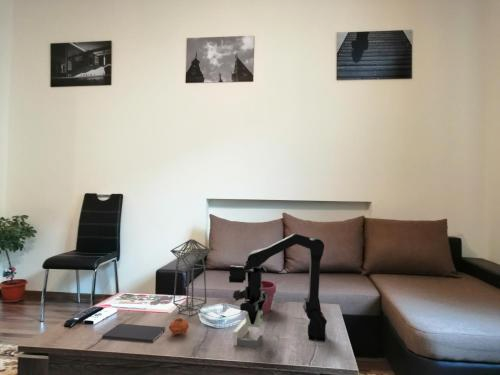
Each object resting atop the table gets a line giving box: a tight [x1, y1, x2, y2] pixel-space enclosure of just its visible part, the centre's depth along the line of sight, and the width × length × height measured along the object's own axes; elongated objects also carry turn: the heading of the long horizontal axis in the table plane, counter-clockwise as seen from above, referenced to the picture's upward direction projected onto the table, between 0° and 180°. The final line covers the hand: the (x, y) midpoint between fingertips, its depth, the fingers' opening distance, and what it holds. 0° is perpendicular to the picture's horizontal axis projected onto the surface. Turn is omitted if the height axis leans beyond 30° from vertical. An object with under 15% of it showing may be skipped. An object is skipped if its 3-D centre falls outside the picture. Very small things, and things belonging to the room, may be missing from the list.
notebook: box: [101, 323, 166, 343], centre depth 139 cm, size 13×2×21 cm
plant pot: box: [246, 280, 277, 314], centre depth 169 cm, size 14×14×13 cm
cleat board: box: [232, 317, 264, 350], centre depth 135 cm, size 10×14×5 cm
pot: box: [168, 317, 190, 337], centre depth 139 cm, size 8×8×7 cm
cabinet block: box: [245, 310, 264, 328], centre depth 137 cm, size 6×5×5 cm
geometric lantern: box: [170, 238, 213, 317], centre depth 166 cm, size 16×16×35 cm
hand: (254, 321), depth 137 cm, fingers closed on cabinet block, 5 cm apart
